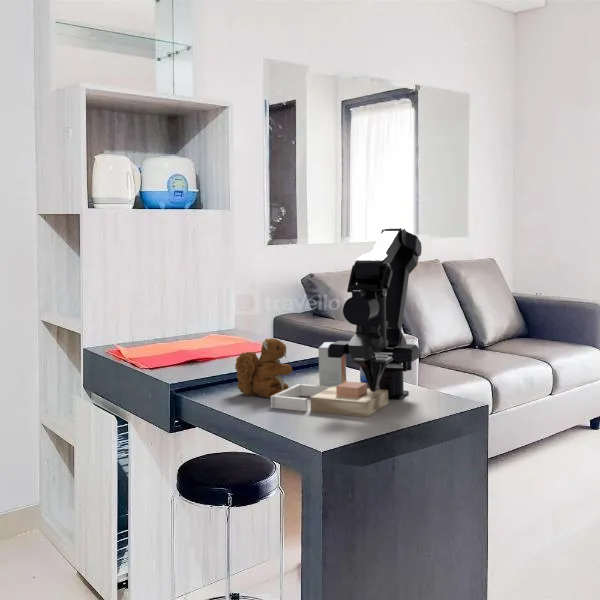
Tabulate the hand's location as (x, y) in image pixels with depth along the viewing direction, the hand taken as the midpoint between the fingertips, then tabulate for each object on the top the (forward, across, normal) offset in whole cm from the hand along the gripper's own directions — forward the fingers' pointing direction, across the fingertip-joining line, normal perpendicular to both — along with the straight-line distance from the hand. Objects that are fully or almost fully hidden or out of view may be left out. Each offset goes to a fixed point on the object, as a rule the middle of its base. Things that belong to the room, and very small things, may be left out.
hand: (373, 391), depth 154 cm
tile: (+1, -5, 0) cm, 5 cm away
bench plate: (+4, -6, 0) cm, 7 cm away
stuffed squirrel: (+4, -30, +5) cm, 30 cm away
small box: (+4, -17, +16) cm, 24 cm away
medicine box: (+4, -9, +25) cm, 27 cm away
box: (+4, -16, 0) cm, 17 cm away
